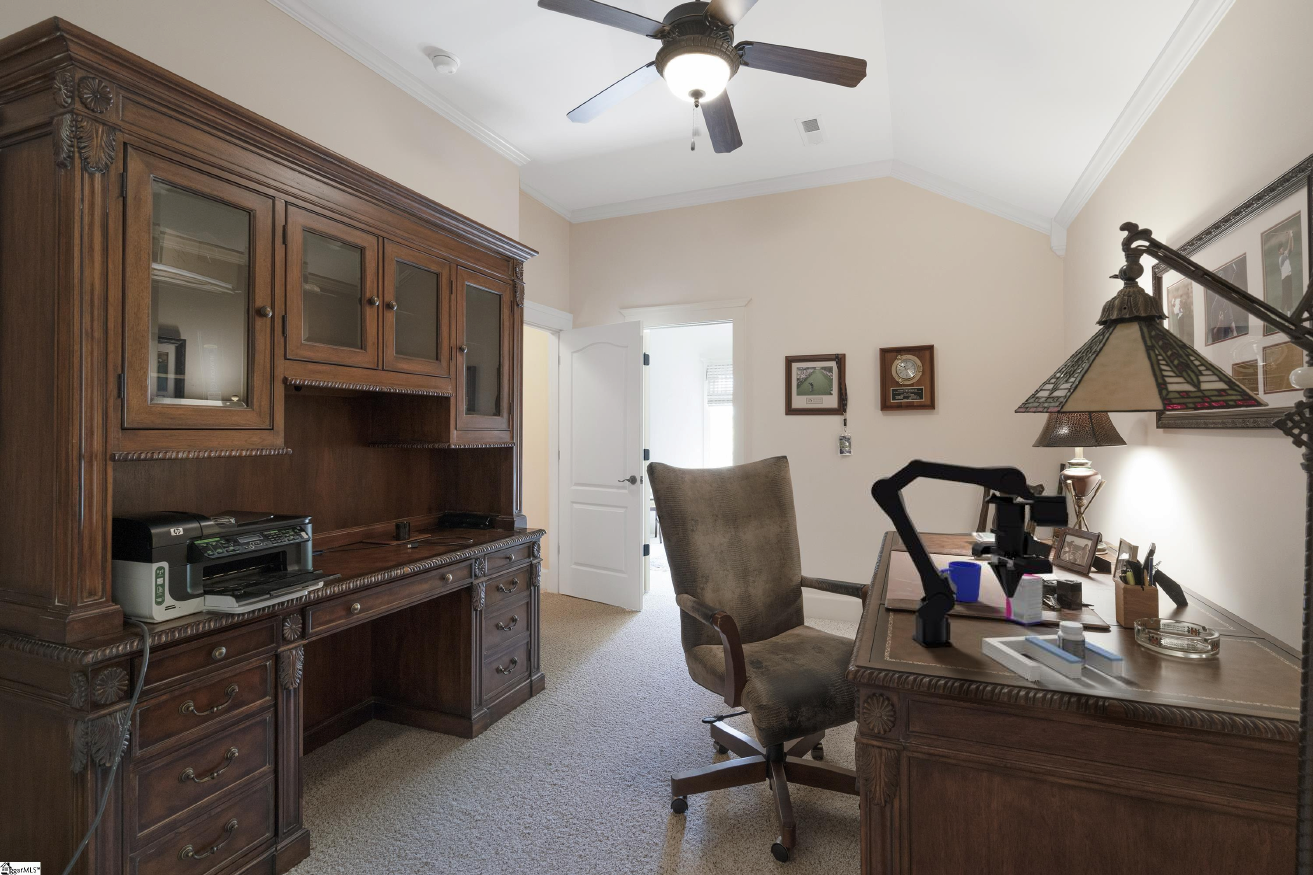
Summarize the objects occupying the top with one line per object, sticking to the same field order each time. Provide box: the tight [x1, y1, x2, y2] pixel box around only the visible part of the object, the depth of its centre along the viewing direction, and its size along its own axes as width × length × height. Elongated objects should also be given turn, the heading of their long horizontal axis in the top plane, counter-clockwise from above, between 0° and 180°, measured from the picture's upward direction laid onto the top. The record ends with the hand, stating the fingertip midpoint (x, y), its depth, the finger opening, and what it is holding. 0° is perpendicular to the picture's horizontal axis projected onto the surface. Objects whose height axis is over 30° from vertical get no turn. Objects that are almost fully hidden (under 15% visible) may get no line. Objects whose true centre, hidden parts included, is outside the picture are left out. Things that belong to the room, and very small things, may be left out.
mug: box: [939, 560, 982, 603], centre depth 171 cm, size 8×12×10 cm
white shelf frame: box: [981, 634, 1124, 682], centre depth 127 cm, size 19×15×4 cm
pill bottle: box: [1057, 620, 1086, 669], centre depth 126 cm, size 5×5×8 cm
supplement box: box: [1005, 574, 1043, 627], centre depth 153 cm, size 6×6×12 cm
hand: (1009, 597), depth 133 cm, fingers closed
